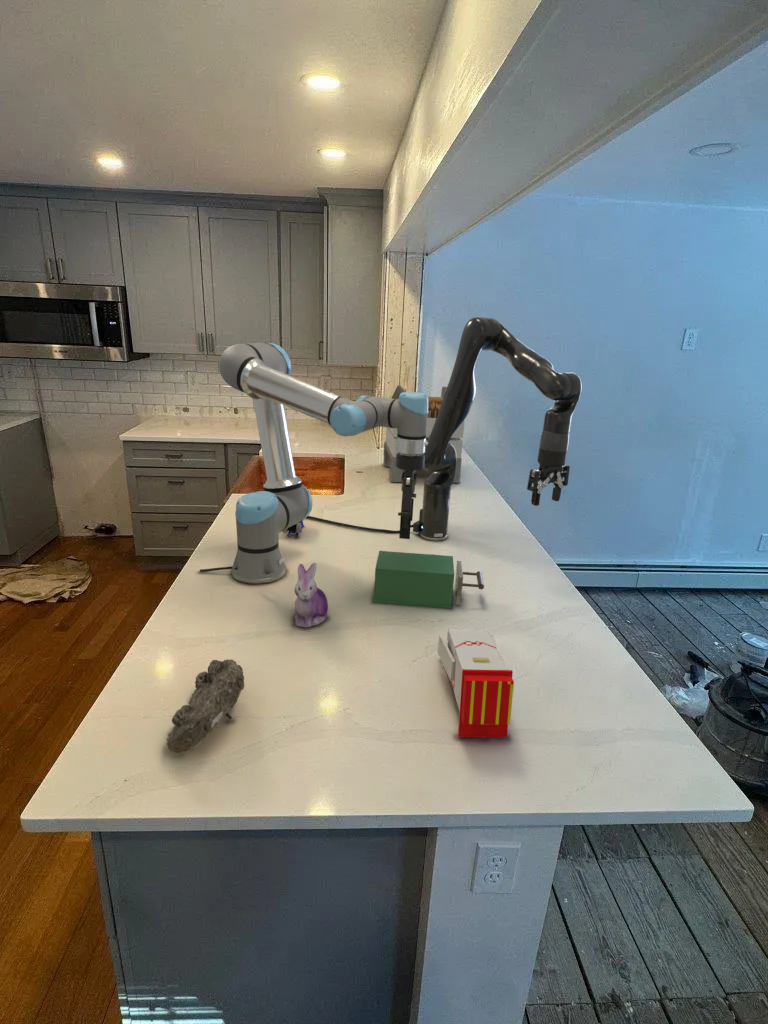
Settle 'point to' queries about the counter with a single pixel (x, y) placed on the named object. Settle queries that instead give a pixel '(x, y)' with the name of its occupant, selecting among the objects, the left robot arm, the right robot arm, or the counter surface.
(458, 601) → the drawer
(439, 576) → the cabinet
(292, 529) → the figurine character
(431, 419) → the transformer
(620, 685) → the counter surface
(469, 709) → the toy
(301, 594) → the figurine
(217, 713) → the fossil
